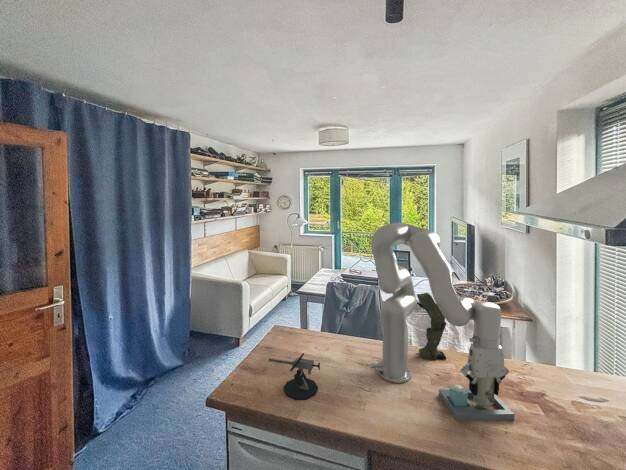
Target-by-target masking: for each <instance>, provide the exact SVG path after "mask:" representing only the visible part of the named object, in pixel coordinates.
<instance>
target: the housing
mask: <svg viewBox="0 0 626 470" xmlns="http://www.w3.org/2000/svg"><path fill="white" fill-rule="evenodd" d="M464 390H465V391H466V392H467V394H468V398H467V407H454V406H453V405H452V404H451V402H450V401H449V393H450V388H449V389H439V390H438V396H439V398H441V400H442V401H443V403H444V404H445V406H446V407H447V409H448V411H449V412H450V413H451V414H452V416H453V417H454V419H455V421H456V422H473V421H474V422H475V421H480V422H481V421H515V412H513V411H512V410H511V409H510V407H508V405H506V403H504V402H503V401H502V400H501V399H500V398H499V397H498V395H495V394H494V404H493V405H495V406H496V407H497V408H498V409H477V408H476V407H475V405H474V404H473V403H472V401H471V400H469V399H473V397H474V394H473V393H472V392H471V391H470V390H469V388H464Z"/></svg>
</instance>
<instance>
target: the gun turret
mask: <svg viewBox="0 0 626 470" xmlns="http://www.w3.org/2000/svg"><path fill="white" fill-rule="evenodd" d="M304 355H305V353H304V352H302V354H301V355H300V356H299V357H297V358H296V359H294V360H293V361H288V360H282V359H274V358H268V362H271V363H278V364H285V365H290V366H291V368H290V370H289V372H293V371H294V369H298V370H296V373H295V374H294V375H293V377H294V378H293V379H290V380H288V381H286V383H285V385H284V386H283V389H282V390H283V392H284V394H286V395H285V397H287V396H288V397H287V398H289V397H290V398H289V399H291V398H292V399H291V400H293V399H294V401H307V400H309V399H311V398H312V397H315V396H316V394H317V392H318V390H319V386H318V385H317V383H316V381H315V380H313V379H310V378H308V377H307V376H306V375H305V372H304V370H307V374H308V375H311V374H312V370H313V369H314V367H316V368H317V370H318V371H320V370H321V369H320V368H321V366H320V365H321V364H320V362H318V363H317V364H315V361H314V359H307V358H303V356H304Z"/></svg>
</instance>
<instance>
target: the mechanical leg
mask: <svg viewBox="0 0 626 470" xmlns="http://www.w3.org/2000/svg"><path fill="white" fill-rule="evenodd" d="M432 296H433V295H432V294H431V293H428V292H424V293H418V294H417V295H416V297H417V299H418V301H416V305H417V306H418V307H419V308H421V309H423V310H424V311H426V314H427V315H428V316H429V318H430V319H431V320H430V327H427V328H426V329H425V330H426V331H425V332H426V333H425V334H426V335H425V336H426V337H425V338H426V339H427V340H426V341H427V342H426V344H425V345H424V346H423V347H421V348H418V353H419V355H420V358H421V359H424V360H425V359H426V360H436V361H437V360H438V361H439V360H447V355H445V353H444V352H443V351H441V350H439V349H438V347H439V345H440V343H441V340H442V337H443V334H444V331H445V329H446V327H447V322H446V321H445V320H446V318H445V317H444V316H443V314H442V312H441V311H440V309H439V307H438V306H437V304H436V302H435V300H434V297H432Z"/></svg>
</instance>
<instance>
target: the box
mask: <svg viewBox="0 0 626 470" xmlns="http://www.w3.org/2000/svg"><path fill="white" fill-rule="evenodd" d="M488 372H489V371H487V378H478V379H477V381H476V384H477V395H476V396H474V397H473V398H472V399H473V400H472V402H473V403H475V404H476V405H478V406H480V407H482V408H484V409H487V408H489V407H491V406H492V405H495V404H494V388H495V378H488Z"/></svg>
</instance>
